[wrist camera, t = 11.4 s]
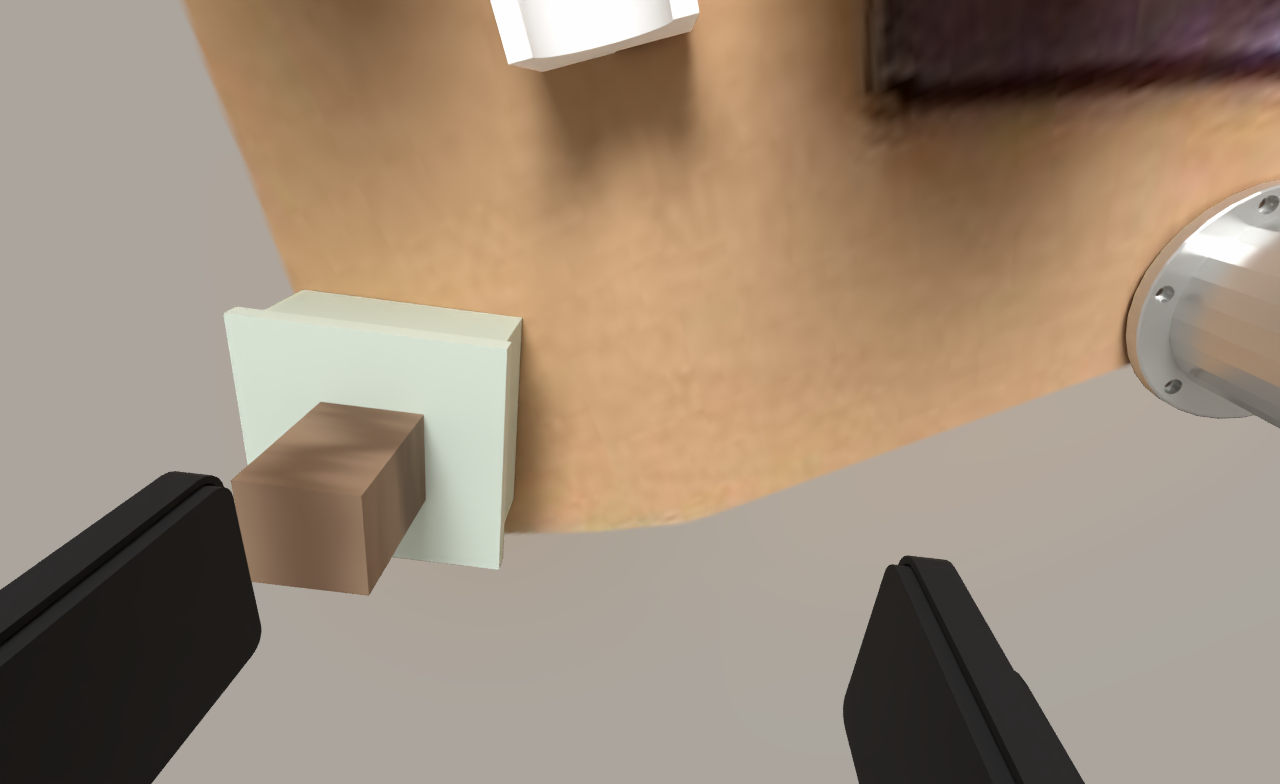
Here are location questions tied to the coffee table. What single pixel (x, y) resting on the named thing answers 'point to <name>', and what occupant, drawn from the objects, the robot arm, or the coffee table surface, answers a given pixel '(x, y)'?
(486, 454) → the sage box
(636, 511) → the coffee table surface
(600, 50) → the bracket
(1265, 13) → the coffee table surface
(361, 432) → the walnut block
